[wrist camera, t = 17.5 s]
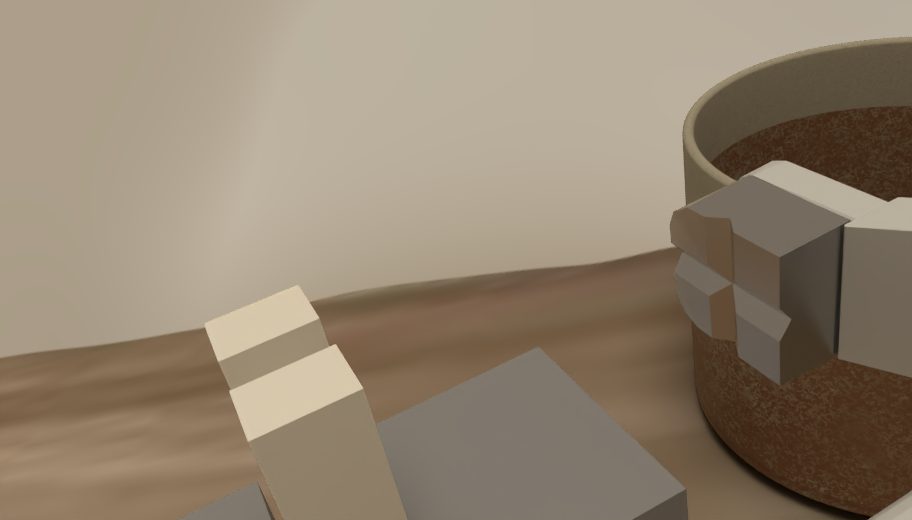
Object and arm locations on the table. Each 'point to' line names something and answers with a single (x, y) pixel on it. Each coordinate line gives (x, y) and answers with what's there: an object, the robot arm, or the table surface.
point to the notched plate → (304, 413)
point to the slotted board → (509, 456)
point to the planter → (851, 163)
